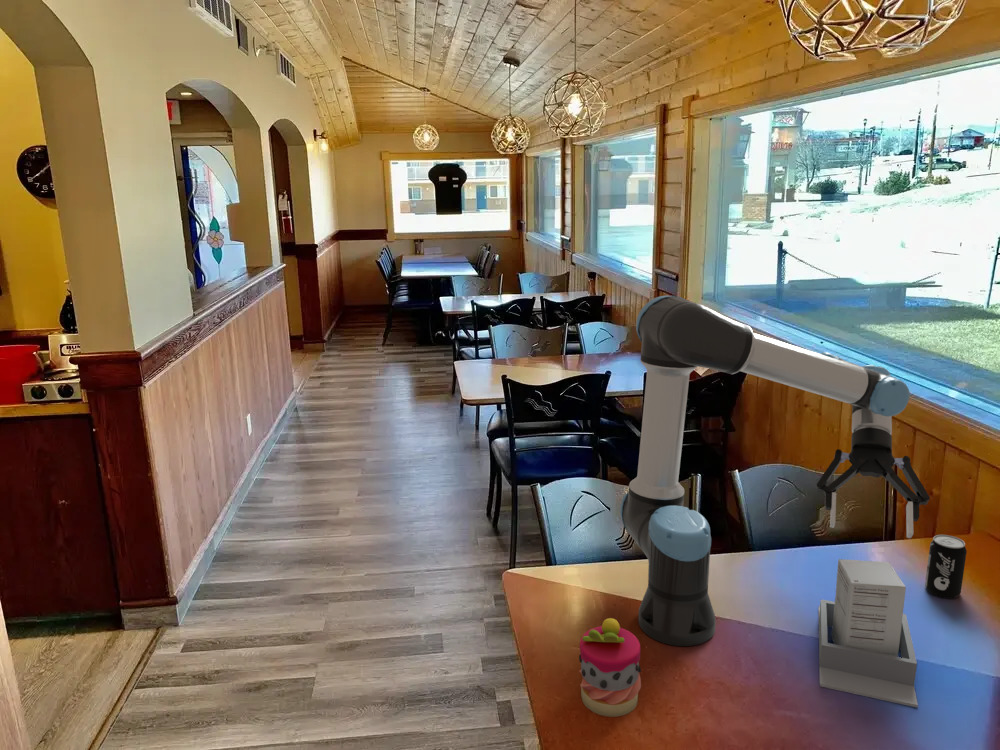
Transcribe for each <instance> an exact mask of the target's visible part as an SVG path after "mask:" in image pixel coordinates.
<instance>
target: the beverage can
mask: <svg viewBox="0 0 1000 750" xmlns="http://www.w3.org/2000/svg"><path fill="white" fill-rule="evenodd" d="M967 551H968V550H967V548H966V543H965V541H964V540H963V539H961V538H959V537H957V536H953V535H950V534H949V535H948V534H937V535H934V536H933V538H932V541H931V542H930V544H929V551H928V557H927V558H928V559H927V566H926V574H925V582H924V586H925V588H926V589H927V591H928V592H929V593H930V594H932V595H934V596H935V597H938V598H941V599H942V598H943V599H955V598H957V597H958V596H960V595H961V594H962V593H961V592H962V589H963V588H962V586H963V580H964V574H965V573H964V572H965V566H966V558H967V553H968V552H967Z"/></svg>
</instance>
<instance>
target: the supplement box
mask: <svg viewBox="0 0 1000 750" xmlns="http://www.w3.org/2000/svg"><path fill="white" fill-rule="evenodd" d="M837 561H838V562H837V571H836V572H837V573H836V583H835V598H834V602H835V604H834V615H833V627H832V626H831V628H832V629H831V639H832V642H833V644H835V645H840V646H845V647H850V648H855V649H861V650H866V651H871V652H876V653H881V654H886V655H891V656H896V657H899V652H900V647H899V643H900V634H901V626H902V617H903V614H904V608H905V598H906V592H907V591H906V590H907V587H906V585H905V584H904V582H903V581H902V580H901V577H900V576H899V575H898V573H897V572H896V571H895V569H894V567H893V566H892V564H891V562H886V561H877V560H876V561H874V560H873V561H872V560H859V559H846V558H845V559H843V558H841V559H840V558H839V559H838V560H837Z"/></svg>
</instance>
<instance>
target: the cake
mask: <svg viewBox="0 0 1000 750" xmlns="http://www.w3.org/2000/svg"><path fill="white" fill-rule="evenodd" d="M579 651H580V654H579V655H578V660H579V661H578V662H579V663H580V669H579V671H578V672H579V673H580V675H581V677H582V679H581V683H580V685H579V686H580V697H581V701H582V703H583V705H584V706H585V708H587V709H588V710H590V711H591V713H594V714H597V715H599V716H602V717H609V718H614V717H615V718H616V717H622V716H625V715H628V714H630V713H631V712H633V711H634V710H635V709H636V707H637V705H638V700H639V693H640V690H641V688H642V682H641V681H642V678H641V676H640V673H641V672H642V669H641V666H640V663H639V662H640V660H641V643H640V641H639V639H638V638H637V636H636V635H635V634H634V633H632V632H631V631H630V630H628V629H625V628H622V627H621V626H620V623H619V622H618V620H617V619H615V618H612V617H609V618H606V619H604V620H603V621H602V625H601V626H596V627H595V626H594V627H593V628H589V630H586V631H585V632H584V634H583V635H582V636H581V637H580V640H579Z"/></svg>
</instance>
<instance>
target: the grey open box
mask: <svg viewBox="0 0 1000 750" xmlns="http://www.w3.org/2000/svg"><path fill="white" fill-rule="evenodd" d="M834 604H835V601H832V600H828V599H827V600H826V599H820V604H819V605H818V608H817V609H818V654H819V655H818V658H819V660H818V661H819V664H818V665H819V666H818V667H819V668H818V669H819V687H822V688H825V689H830V690H835V691H840V692H845V693H850V694H854V695H857V696H858V695H859V696H863V697H868V698H872V699H876V700H881V701H885V702H891V703H895V704H900V705H904V706H908V707H912V708H916V709H917V708H918V706H919V703H918V698H917V694H916V690H915V683H916V677H917V676H916V675H917V666H918V662H917V658H916V657H917V656H916V654H915V653H916V652H915V648H914V643H913V639H912V636H911V635H912V634H911V632H910V626H909V621H908V618H907V614H906V613H903V617H902V626H901V634H900V643H899V652H901V653H900V656H898V657H896V656H891V655H886V654H881V653H876V652H871V651H866V650H861V649H855V648H850V647H845V646H840V645H835V644H834V643H830V642H828V640H829V639H828V627H831V628H832V627H833V615H834ZM901 657H902V658H901Z"/></svg>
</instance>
